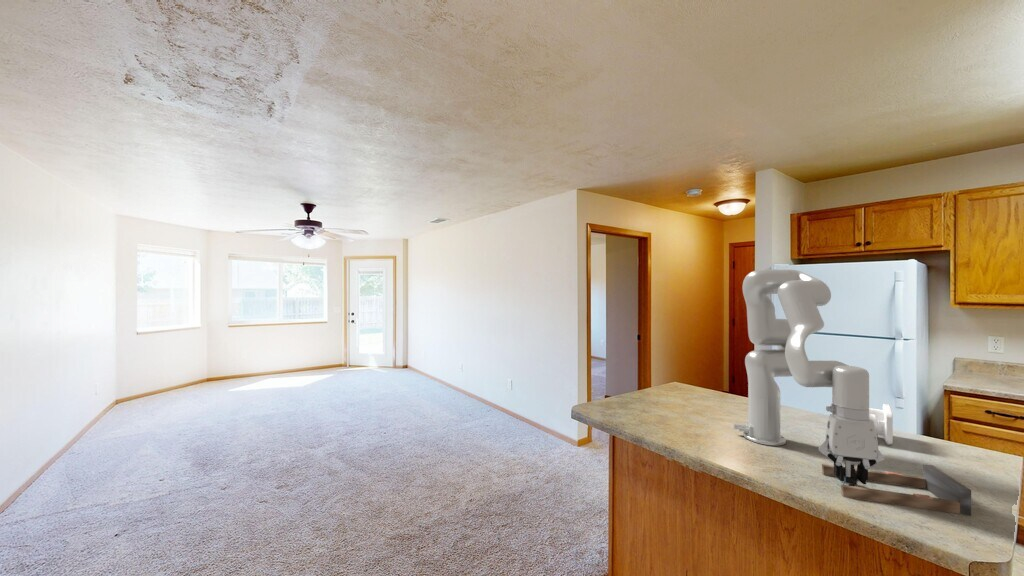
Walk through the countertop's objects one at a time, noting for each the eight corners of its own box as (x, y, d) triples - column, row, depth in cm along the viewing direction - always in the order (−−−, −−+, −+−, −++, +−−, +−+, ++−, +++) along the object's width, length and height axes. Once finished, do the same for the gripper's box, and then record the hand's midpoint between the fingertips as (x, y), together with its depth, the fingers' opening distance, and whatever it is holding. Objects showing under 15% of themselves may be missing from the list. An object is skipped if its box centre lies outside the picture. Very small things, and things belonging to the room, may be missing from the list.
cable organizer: (893, 448, 129) (893, 414, 129) (851, 440, 136) (851, 407, 136) (889, 435, 140) (889, 403, 140) (850, 428, 147) (850, 398, 147)
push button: (859, 494, 100) (859, 456, 100) (832, 486, 105) (832, 449, 105) (864, 486, 105) (864, 449, 104) (839, 478, 109) (839, 443, 109)
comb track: (843, 496, 100) (843, 473, 100) (821, 472, 112) (821, 452, 112) (971, 515, 91) (971, 490, 91) (932, 487, 104) (932, 465, 104)
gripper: (818, 413, 104) (818, 481, 104) (898, 420, 98) (898, 493, 98) (807, 405, 111) (807, 469, 111) (882, 411, 105) (882, 479, 105)
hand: (850, 479), depth 104 cm, fingers closed on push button, 4 cm apart
